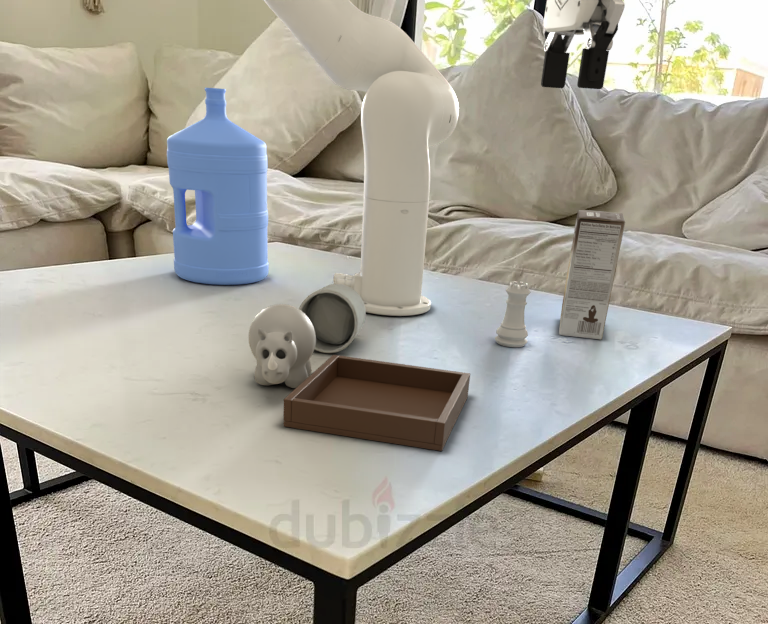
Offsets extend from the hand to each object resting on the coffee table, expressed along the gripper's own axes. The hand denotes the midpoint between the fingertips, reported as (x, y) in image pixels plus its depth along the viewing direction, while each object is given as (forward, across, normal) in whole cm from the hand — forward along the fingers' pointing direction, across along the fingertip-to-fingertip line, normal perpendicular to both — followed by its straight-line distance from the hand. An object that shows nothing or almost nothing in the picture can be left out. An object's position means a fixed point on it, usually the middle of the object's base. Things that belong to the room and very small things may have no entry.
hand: (570, 87), depth 97 cm
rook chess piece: (+31, +5, -6) cm, 32 cm away
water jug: (+31, -37, -40) cm, 63 cm away
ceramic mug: (+31, +4, -32) cm, 45 cm away
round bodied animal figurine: (+31, +20, -40) cm, 54 cm away
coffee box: (+31, -1, +8) cm, 32 cm away
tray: (+31, +28, -30) cm, 51 cm away
